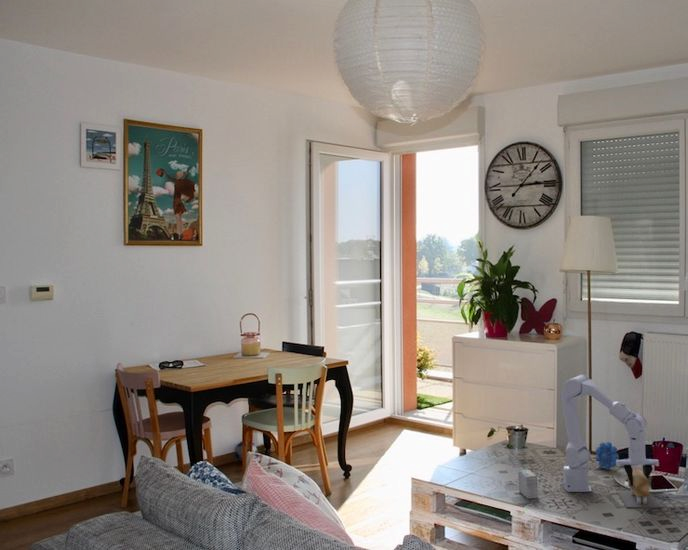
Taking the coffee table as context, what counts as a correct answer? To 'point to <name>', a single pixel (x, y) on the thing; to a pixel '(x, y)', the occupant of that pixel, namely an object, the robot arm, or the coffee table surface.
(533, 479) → the medicine box
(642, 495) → the oak block
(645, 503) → the peg base
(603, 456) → the grapes
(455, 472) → the coffee table surface
